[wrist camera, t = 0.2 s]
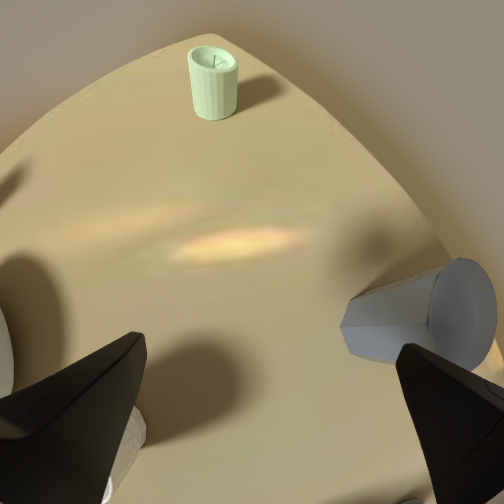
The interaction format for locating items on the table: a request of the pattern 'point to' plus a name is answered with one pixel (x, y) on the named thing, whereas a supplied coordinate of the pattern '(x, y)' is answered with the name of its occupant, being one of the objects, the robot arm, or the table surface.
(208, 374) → the table surface
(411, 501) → the pocket watch
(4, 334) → the cereal bowl
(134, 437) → the white cup
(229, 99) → the candle
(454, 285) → the grey faceted canister
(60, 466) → the robot arm
